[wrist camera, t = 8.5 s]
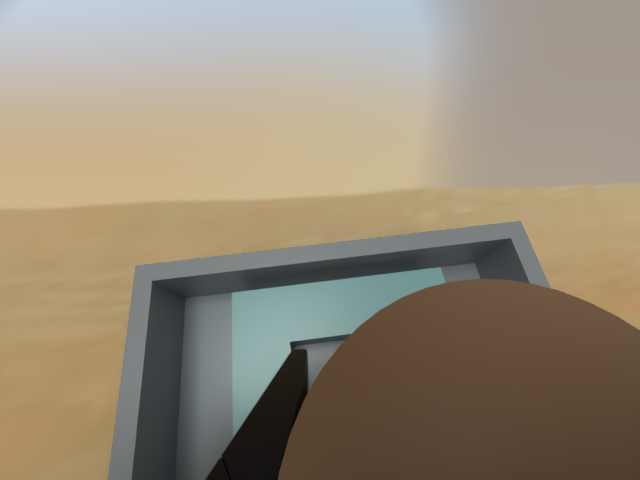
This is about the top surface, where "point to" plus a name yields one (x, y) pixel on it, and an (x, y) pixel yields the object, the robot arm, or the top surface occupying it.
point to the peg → (475, 391)
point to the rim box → (268, 330)
